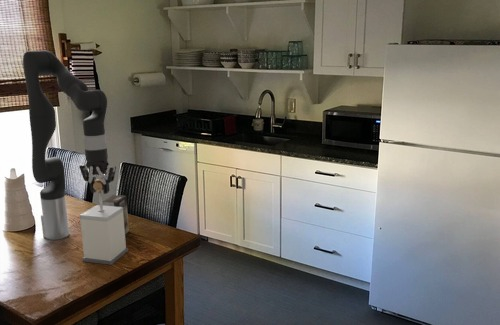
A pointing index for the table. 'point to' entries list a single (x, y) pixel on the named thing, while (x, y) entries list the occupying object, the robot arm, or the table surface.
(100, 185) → the plunger
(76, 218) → the table surface
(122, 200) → the coffee box
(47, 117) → the robot arm
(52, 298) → the table surface
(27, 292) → the table surface
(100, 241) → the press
